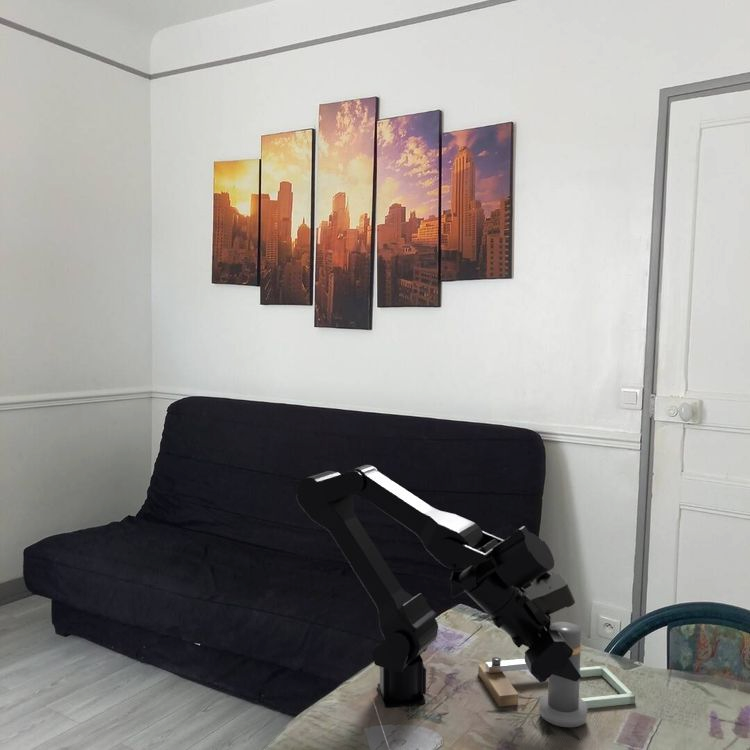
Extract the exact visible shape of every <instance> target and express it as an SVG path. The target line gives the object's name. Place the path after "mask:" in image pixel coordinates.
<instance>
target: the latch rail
mask: <svg viewBox="0 0 750 750" xmlns="http://www.w3.org/2000/svg"><path fill="white" fill-rule="evenodd" d="M477 668H478V669H477V670H478V676H479V677H480V679H481V680H482V682H483V684H484V685H485V687H486V688H487V690H488V692H489V693H490V694H491V696H492V697H493V699H494V700H495V702H496V704H497V705H498V707H508V706H519V693H518V692H517V690H516V689H515V688H514V685H512V683H511V681H510V680H509V679H508V678H507V676H506V675H505V674H504V672H494V673H489V672H488V671H487V669H486V663H479V664H478V666H477Z"/></svg>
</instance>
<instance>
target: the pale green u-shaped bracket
mask: <svg viewBox="0 0 750 750" xmlns="http://www.w3.org/2000/svg"><path fill="white" fill-rule="evenodd" d="M580 675H581V678H589V677H598V676H600V677H601V676H602V677H603V678H604V679H605V681H607V682H608V683H609V684H610V685H611V686H612V687H613V688H614V690H616V692H618V693H619V694H612V695H603V696H601V695H600V696H591V697H582V698H581V697H580V698H581V699H582V700H583V701H584V702H585V703H586V705H587V709H595V708H603V707H604V708H605V707H611V706H612V707H614V706H624V705H632V704H636V695H635V694H634V693H633V692H632V691H631V690H630V689H629V688H628V687H627V686H626V685H625V684H624V683H622V681H621V680H619V678H617V676H616V675H614V674H613V673H612V671H610V670H609V669H608V667H606V666H605V665H598V666H597V665H595V666H585V667H580Z"/></svg>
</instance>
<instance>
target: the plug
mask: <svg viewBox="0 0 750 750" xmlns="http://www.w3.org/2000/svg"><path fill="white" fill-rule="evenodd" d="M550 630H557V631H558V632H559V633H560V634H563V636H564V637H565V639H566V640H567V642H568V643H569V645H570V646H571V648H572V649H573V654H572V656H571V657H570V658H569V659H570V661H571V662H572V663H573V665H574V666H575V668H576V669H577V671H578V672H579V674H580V668H581V653H582V652H583V651H582V649H583V646H582V645H583V644H582V628H581V627H580V626H578V625H577V624H574V623H572V622H568V621H556V622H553V623H551V625H550ZM580 679H581V678H580ZM580 679H579V680H578V681H576V682H575V681H572V680H569V679H566V678H563V677H559V676H556V675H553V674H552V675H551V676H550V677H549V678H548V679H547V681H548V683H547V684H548V687H547V693H544V694H543V695H541V696H540V698H539V702H538V703H539V705H538V706H539V707H538V708H539V709H538V711H539V715H540V716H541V718H542V719H543V720H545V721H546V722H547V723H549V724H552V725H555V726H557V727H562V728H576V727H580V726H582V725H584V724H585V723H586V722H587V720H588V708H587V705H586V703H585V702H584V701H583V700H582V699H581V697H580Z"/></svg>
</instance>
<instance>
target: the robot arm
mask: <svg viewBox="0 0 750 750" xmlns="http://www.w3.org/2000/svg"><path fill="white" fill-rule="evenodd" d="M296 493H297V494H296V500H297V502H298V505H299V506H300V508H301V509H302V510H303V511H304V512H305V513H306V515H307V516H308V517H309V518H310V520H312V521H313V522H314V523H316V524H318V525H319V526H320V527H323V529H325V530H327V531H328V532H329V533H330V535H331V537H332V538H333V540H334V541H335V543H336V545H337V546H338V547H339V549H340V550H341V552H342V554H343V556H344V557H345V558H346V560H347V561H348V563H349V565H350V567H351V568H352V570H353V572H354V573H355V574H356V577H357V578H358V579H359V580H360V583H361V584H362V586H363V588H364V589H365V590H366V592H367V594H368V596H369V597H370V599H371V600H372V602H373V603H374V605H375V606H376V608H377V609H376V610H377V615H378V623H379V629H380V632H381V635H382V636H383V638H384V640H383V641H382V642H381V643H379V645H377V646H376V647H375V648H374V649H372V650H371V655H372V659H373V662H374V665H375V666H377V667H379V682H378V683H377V690H378V693H379V695H380V699H381V701H382V703H383V707H384V708H386V709H387V708H398V707H399V708H400V707H405V706H406V707H408V706H415V705H416V706H418V705H425V704H426V702H427V701H426V697H425V695H426V693H427V668H426V666H425V665H424V661H423V658H422V654H423V653H424V652H426V651H427V650H428V648H429V646H430V645H432V644H433V642H434V641H436V638H437V636H438V630H439V623H438V622H437V619H436V617H435V616H437V613H436V612H435V611H434V609H432V608H431V607H430V606H429V603H428V602H427V599H426V597H425V596H424V594H422V593H421V592H420V593H418V594H416V595H415V596H414V595H412V594H410V593H409V592H407V591H405V589H403V587H402V586H401V584H400V583H399V581H398V580H397V578H396V576H395V575H394V573H393V571H392V569H390V567H389V565H388V564H387V562H386V560H384V558H383V557H382V555H381V553H380V552H379V550H378V548H377V546H376V545H375V543H373V541H372V539H371V538H370V536H369V535H368V533H367V531H366V530H365V528H364V527H363V525H362V523H361V522H360V521H359V519H358V517H357V515H356V512H355V506H354V497H353V495H355V494H356V495H358V496H359V497H361V498H362V499H364V500H365V501H367V502H369V503H370V504H372V505H373V506H374V507H376V508H377V509H379V510H380V511H382V512H383V513H385V514H386V515H387V516H389V517H391V518H392V519H394V520H395V521H396V522H398V523H399V524H401V525H403V527H405V528H406V529H408V530H409V531H410V532H412V533H414V534H415V535H416V536H417V537H418V538H419V539H420V541H421V543H422V545H423V546H424V548H425V550H426V551H427V552H428V553H429V554H430V555H431V556H432V557H433V558H434V559H435V560H436V561H437V562H439V563H440V564H441V565H442V566H443V567H445V568H447V569H449V570H450V569H451V570H453V571H452V573H451V576H450V580H449V582H450V587H451V590H450V597H451V598H453V599H455V598H456V597H458V596H459V595H461V594H463V593H466V595H468V596H469V597H470V598H471V599H472V600H473V601H474V602H475V603H476V604H477V605H478V606H479V607H480V608H481V609H482V610H483V611H484V612H486V614H487V615H488V616H489V617H490V618H491V620H492V622H493V624H494V625H495V627H497V628H498V629H500V628H501V629H502V630H503V631H505V632H506V633H507V634H508V635H509V636H510V638H511V640H512V642H513V644H514V645H515V647H518V649H519V648H521V647H522V646H525V647H527V650H526V651H524V659H525V663H526V665H527V667H528V669H527V670H529V673H530V674H531V675H532V676H533V677H534V679H536V680H537V681H538V682H539V683H545V682H547V681H548V678H549V677H550V676H551V675H552V674H553V675H556V676H559V677H563V678H566V679H569V680H572V681H575V682H576V681H578V680H579V679H581V678H582V677H581V675H580V674H579V672H578V671H577V669H576V668H575V666H574V665H573V663H572V662H571V661H570V659H569V658H570V657H571V656H572V654H573V649H572V648H571V646H570V645H569V643H568V642H567V640H566V639H565V637H564V636H563V634H560V633H559V632H558V631H557V630H550V625H551V624H552V623H551V618H552V617H551V614H553V613H556V612H558V611H560V610H562V609H565V608H570V607H571V606H573V605H575V603H576V600H575V598H574V596H573V594H572V591H571V588H570V587H569V585H568V583H567V580H565V579H564V577H563V576H562V575H561V574H560V573H556V572H555V571H553V572H552V573H551V572H549V571H551V570H552V569H554V567H555V559H554V557H553V554H552V551H551V549H550V548H549V546H548V545H547V543H546V542H545V541H544V540H542V539H541V538H540V537H539V536H538V535H536V534H535V533H533V532H530V531H529V529H527V527H526V526H525V525H523V526H521V527H520V528H518V529H516V530H515V531H514V532H513V533H511V535H509V536H508V537H507V538H506V539H502V538H500V537H498V536H496V535H494V534H490V533H488V532H486V531H484V530H482V529H481V527H480V526H479V525H478V524H477V523H476V522H474V521H472V520H469V519H467V518H465V517H462V516H460V515H457V514H456V513H451V512H447V511H442V510H439V509H437V508H435V507H433V506H431V505H430V504H428V503H427V502H425V501H424V500H422V499H420V498H419V497H418V496H416V495H414V494H413V493H411V492H410V491H408V489H406V488H404V487H402V486H401V485H399V484H398V483H396V482H395V481H393V480H392V479H390V478H389V477H388V476H386V475H385V474H383V473H381V472H380V471H379V470H378V469H377V468H376V467H375V466H373V465H371V464H364V465H361V466H358V467H355V468H352V469H349V471H346V472H343V473H340V472H338V471H333V470H328V471H324V472H321V473H318V474H313V475H311V476H307V477H305V478H304V479H302V480H301V481H300V483H299V484H298V487H297V491H296ZM487 559H488V560H487ZM463 566H468V567H467V568H465V569H464V570H460V571H459V570H458V571H455V570H456V569H460V568H462V567H463ZM528 584H530V585H529V586H528V587H526V588H524V587H525V586H527V585H528Z"/></svg>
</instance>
